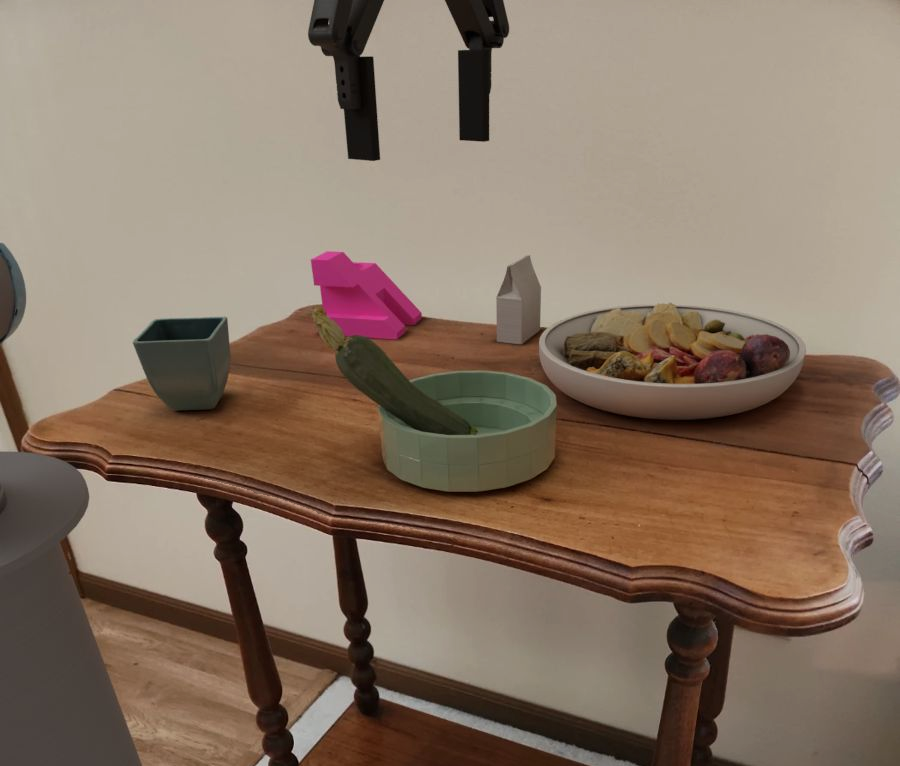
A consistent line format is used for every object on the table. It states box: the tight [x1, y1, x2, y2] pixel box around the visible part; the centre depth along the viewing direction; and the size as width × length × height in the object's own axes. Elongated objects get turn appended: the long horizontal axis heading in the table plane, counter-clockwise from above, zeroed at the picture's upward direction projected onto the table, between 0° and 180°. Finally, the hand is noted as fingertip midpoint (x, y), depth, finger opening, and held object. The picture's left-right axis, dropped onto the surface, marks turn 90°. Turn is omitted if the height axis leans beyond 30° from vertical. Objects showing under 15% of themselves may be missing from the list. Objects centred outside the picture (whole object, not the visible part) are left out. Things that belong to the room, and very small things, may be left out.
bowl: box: [538, 302, 807, 421], centre depth 95 cm, size 30×30×8 cm
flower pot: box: [132, 316, 231, 411], centre depth 94 cm, size 9×9×9 cm
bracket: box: [310, 250, 423, 340], centre depth 117 cm, size 12×10×10 cm
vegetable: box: [310, 306, 478, 435], centre depth 77 cm, size 4×4×20 cm
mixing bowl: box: [377, 369, 558, 493], centre depth 80 cm, size 17×17×6 cm
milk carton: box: [495, 254, 542, 345], centre depth 111 cm, size 4×7×10 cm, turn 153°
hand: (422, 150), depth 66 cm, fingers open, 13 cm apart
